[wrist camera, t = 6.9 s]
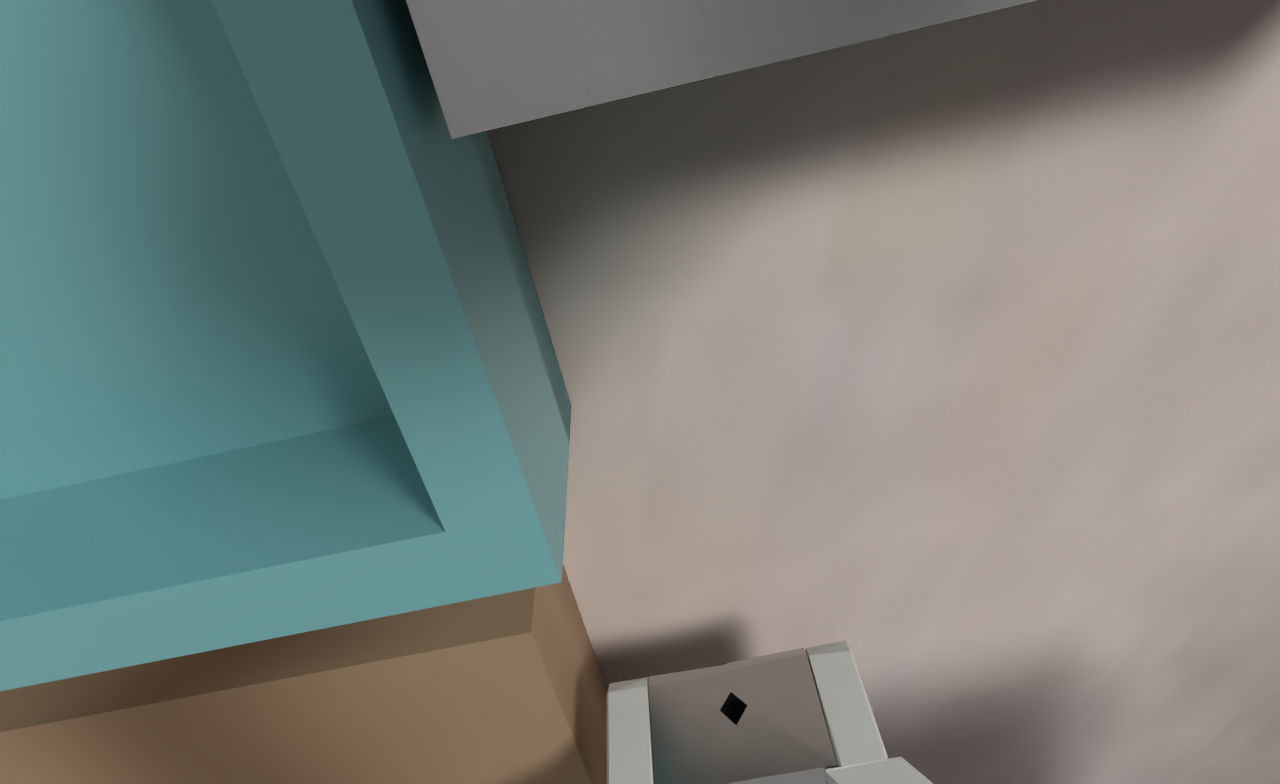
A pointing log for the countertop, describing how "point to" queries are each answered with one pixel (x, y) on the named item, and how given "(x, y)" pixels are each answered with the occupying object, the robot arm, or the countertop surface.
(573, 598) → the tan cardboard-like brick
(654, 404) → the countertop surface
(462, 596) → the tray
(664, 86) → the collar
